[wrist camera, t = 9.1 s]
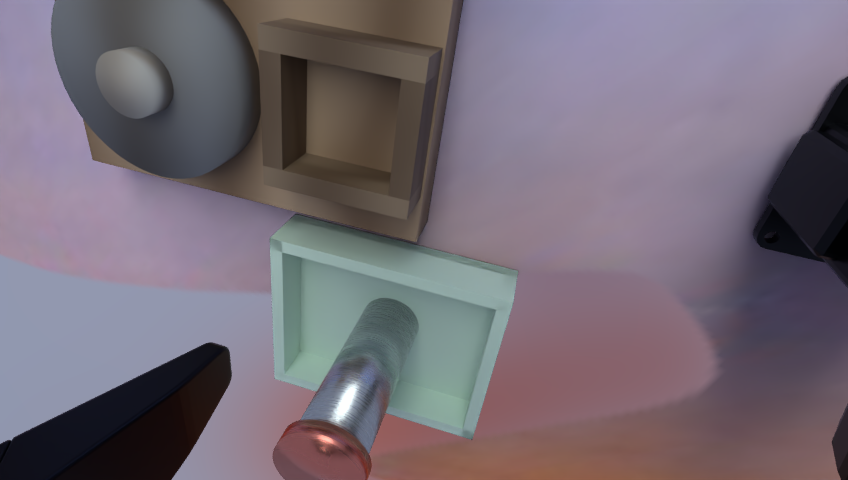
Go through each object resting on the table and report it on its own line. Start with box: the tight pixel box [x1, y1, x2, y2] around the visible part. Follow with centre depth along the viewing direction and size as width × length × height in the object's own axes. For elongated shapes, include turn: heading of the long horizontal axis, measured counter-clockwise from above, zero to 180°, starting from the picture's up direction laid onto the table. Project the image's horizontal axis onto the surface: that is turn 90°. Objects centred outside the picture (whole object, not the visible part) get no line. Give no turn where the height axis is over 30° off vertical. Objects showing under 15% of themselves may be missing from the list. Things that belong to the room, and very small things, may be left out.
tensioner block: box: [51, 0, 463, 242], centre depth 19 cm, size 16×10×4 cm, turn 82°
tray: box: [270, 214, 518, 440], centre depth 25 cm, size 11×9×2 cm
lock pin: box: [273, 298, 419, 480], centre depth 21 cm, size 4×4×9 cm
